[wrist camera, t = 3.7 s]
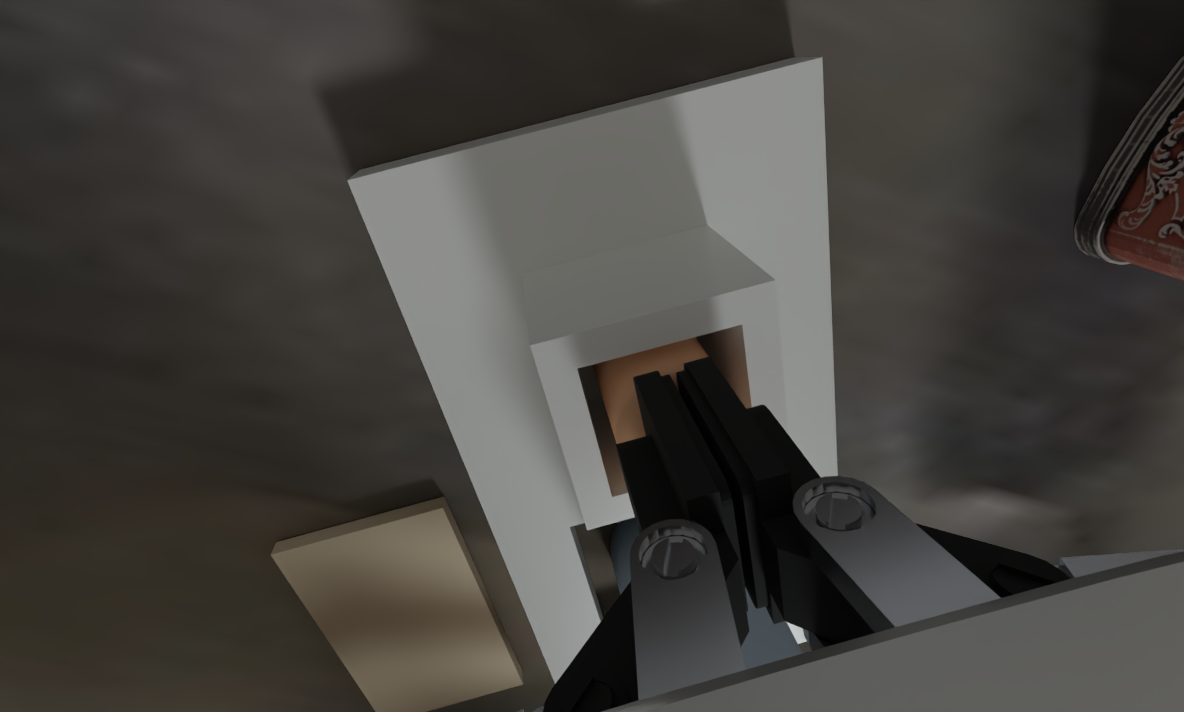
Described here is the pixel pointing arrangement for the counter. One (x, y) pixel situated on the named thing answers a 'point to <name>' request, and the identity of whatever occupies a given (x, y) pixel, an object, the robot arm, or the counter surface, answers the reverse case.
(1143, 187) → the lighter
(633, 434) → the brown egg
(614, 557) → the cylinder
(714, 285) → the dock
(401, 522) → the pad
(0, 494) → the counter surface
